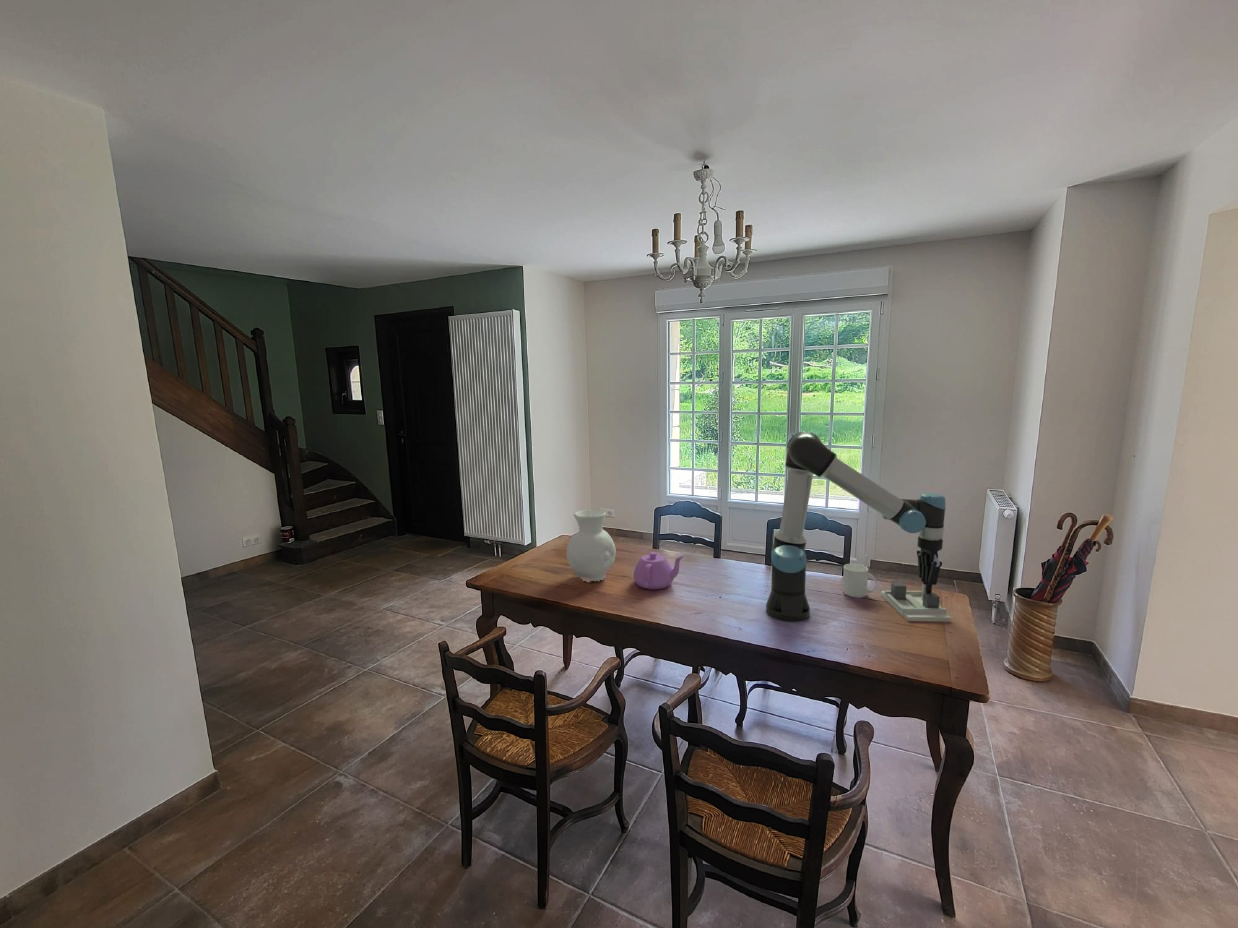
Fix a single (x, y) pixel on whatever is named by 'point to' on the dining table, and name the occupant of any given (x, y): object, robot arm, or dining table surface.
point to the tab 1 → (898, 590)
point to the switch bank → (915, 607)
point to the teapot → (655, 571)
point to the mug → (856, 580)
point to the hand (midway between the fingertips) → (926, 600)
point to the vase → (591, 546)
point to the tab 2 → (930, 600)
